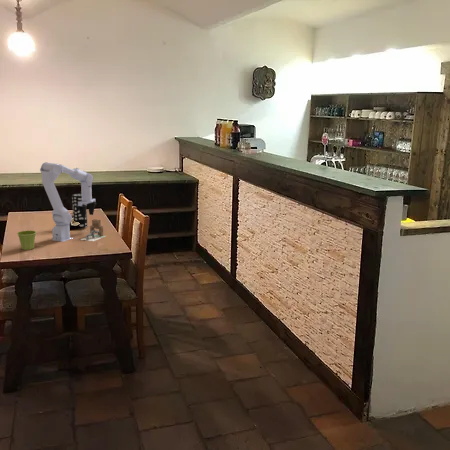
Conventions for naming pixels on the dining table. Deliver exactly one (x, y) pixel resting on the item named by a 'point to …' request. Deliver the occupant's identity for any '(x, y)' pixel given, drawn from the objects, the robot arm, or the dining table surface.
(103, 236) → the end pad
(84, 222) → the white-spotted black cylinder
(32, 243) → the plant pot
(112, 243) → the dining table surface
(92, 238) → the buzz wire board
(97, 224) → the stepped wooden block
